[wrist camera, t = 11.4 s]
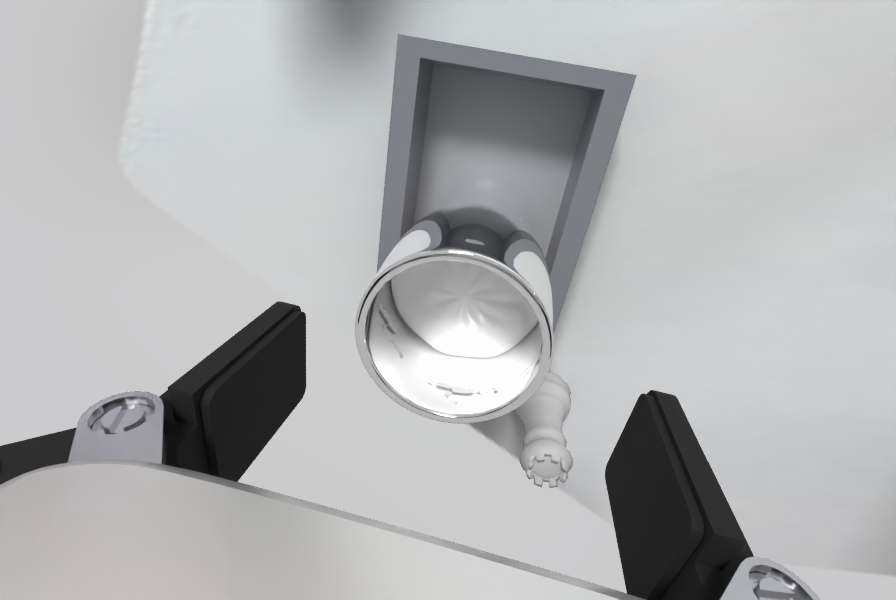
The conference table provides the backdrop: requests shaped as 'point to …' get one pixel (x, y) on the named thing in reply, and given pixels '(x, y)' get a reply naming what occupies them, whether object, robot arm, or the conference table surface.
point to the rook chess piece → (546, 432)
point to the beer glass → (461, 309)
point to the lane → (501, 140)
